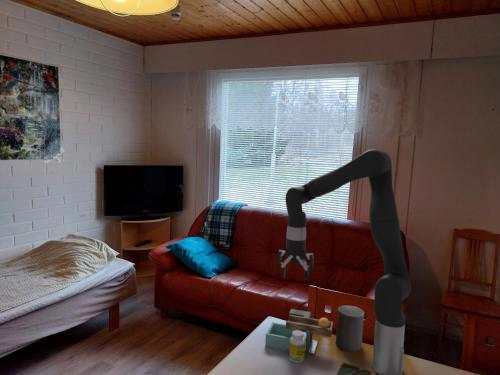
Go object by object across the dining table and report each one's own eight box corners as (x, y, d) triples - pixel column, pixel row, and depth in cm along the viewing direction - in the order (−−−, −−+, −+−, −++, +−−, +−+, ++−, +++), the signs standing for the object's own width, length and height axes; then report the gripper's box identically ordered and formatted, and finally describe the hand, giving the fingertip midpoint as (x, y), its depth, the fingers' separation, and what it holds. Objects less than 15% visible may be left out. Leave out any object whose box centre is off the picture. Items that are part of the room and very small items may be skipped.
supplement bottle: (297, 353, 133) (298, 327, 132) (307, 360, 129) (308, 334, 128) (286, 357, 130) (287, 331, 129) (295, 364, 126) (297, 338, 125)
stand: (317, 343, 140) (318, 321, 139) (313, 355, 131) (315, 332, 130) (304, 341, 141) (305, 318, 140) (300, 353, 133) (301, 329, 132)
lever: (334, 319, 145) (335, 312, 144) (331, 337, 130) (331, 330, 130) (291, 311, 150) (291, 305, 150) (282, 328, 135) (283, 321, 135)
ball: (329, 327, 135) (330, 316, 135) (328, 332, 132) (329, 321, 131) (318, 325, 136) (319, 314, 136) (317, 330, 133) (318, 319, 132)
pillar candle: (332, 346, 138) (335, 308, 136) (339, 335, 146) (342, 299, 145) (358, 354, 133) (361, 315, 132) (364, 342, 142) (367, 305, 140)
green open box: (296, 338, 143) (297, 326, 142) (291, 352, 133) (292, 339, 133) (271, 334, 146) (272, 322, 145) (265, 346, 136) (265, 334, 136)
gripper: (315, 237, 144) (313, 277, 146) (280, 233, 149) (279, 272, 150) (313, 241, 137) (311, 283, 139) (276, 237, 141) (274, 278, 143)
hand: (294, 277), depth 145 cm, fingers open, 8 cm apart
